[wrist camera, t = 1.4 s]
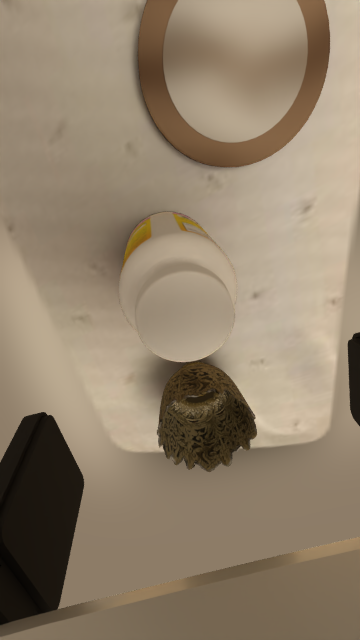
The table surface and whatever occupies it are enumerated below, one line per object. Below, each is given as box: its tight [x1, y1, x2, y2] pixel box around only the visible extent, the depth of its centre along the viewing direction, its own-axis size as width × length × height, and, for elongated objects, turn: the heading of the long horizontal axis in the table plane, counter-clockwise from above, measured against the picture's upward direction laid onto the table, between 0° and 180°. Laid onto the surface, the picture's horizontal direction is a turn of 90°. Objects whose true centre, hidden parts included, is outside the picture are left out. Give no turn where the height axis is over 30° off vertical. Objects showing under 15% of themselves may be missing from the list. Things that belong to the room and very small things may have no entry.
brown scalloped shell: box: [157, 362, 257, 472], centre depth 29 cm, size 8×7×8 cm
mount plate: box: [138, 0, 330, 167], centre depth 22 cm, size 12×12×2 cm
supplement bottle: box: [119, 212, 237, 362], centre depth 21 cm, size 7×7×13 cm
